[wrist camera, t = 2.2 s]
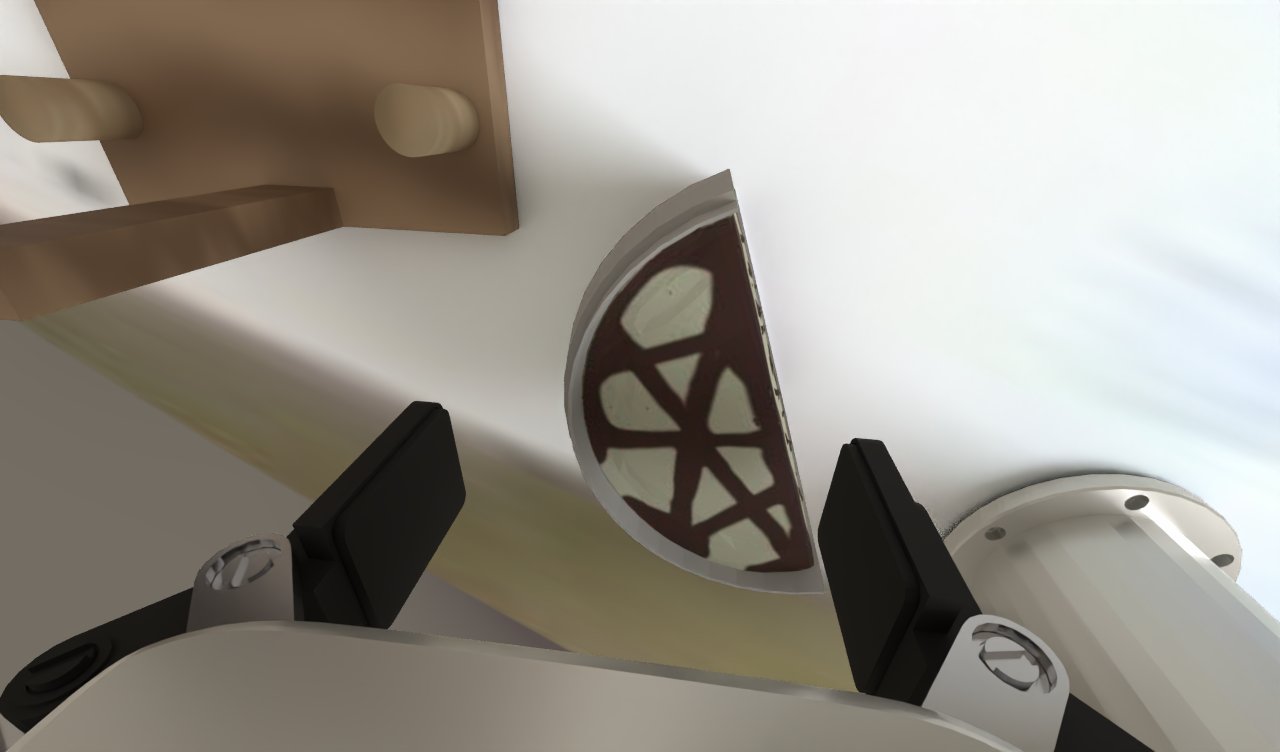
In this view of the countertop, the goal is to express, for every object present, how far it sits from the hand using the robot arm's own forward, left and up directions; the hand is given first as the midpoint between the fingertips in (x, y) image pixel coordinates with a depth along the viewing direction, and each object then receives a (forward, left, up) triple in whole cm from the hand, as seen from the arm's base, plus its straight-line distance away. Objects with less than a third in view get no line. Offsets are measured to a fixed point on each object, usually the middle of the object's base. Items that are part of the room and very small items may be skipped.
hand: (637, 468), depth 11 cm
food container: (0, -1, -11) cm, 11 cm away
